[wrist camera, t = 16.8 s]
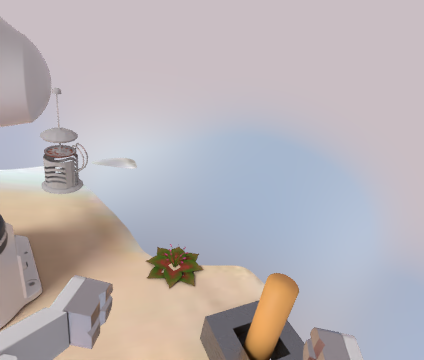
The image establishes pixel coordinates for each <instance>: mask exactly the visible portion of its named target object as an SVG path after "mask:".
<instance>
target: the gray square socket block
mask: <svg viewBox="0 0 424 360" xmlns="http://www.w3.org/2000/svg"><path fill="white" fill-rule="evenodd" d="M258 303H259V301H256V302H252V303H249V304H246V305H243V306H239V307H236V308H233V309H229V310H226V311H223V312H220V313H216V314H213V315H210V316H206V317H205V320H204V324H203V328H202V333H201V337H200V339H201V341H202V344H203V346H204V348H205V351H206V353H207V355H208V357H209V360H250V359H249V358H248V356H247V354H246V352H245V350H244V349H243V347H242V345H241V344H243V343H245V340H246V337H247V334H248V331H249V329H250V326H251V323H252V320H253V317H254V315H255V312H256V309H257V306H258ZM304 345H305V344H304V342H303V341H302V340H301V338H300V337H299V336H298V334H297V333H296V332H295V330H294V329H293V328H292V326H291V325H290V323H289V322H288V321H286V323H285V325H284V328H283V330H282V332H281V335H280V337H279V339H278V341H277V344H276V346H275V348H274V351H273V353H272V355H271V357H270V358H271V360H303V350H304Z"/></svg>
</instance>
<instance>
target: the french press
mask: <svg viewBox="0 0 424 360" xmlns="http://www.w3.org/2000/svg"><path fill="white" fill-rule="evenodd" d="M52 93H54V94H56V99H57V94H61V90H60V89H59V88H54V89H52ZM57 114H58V99H57ZM40 137H41V138H42V139H43V140H45V141H48V142H53V143H59V144H60V143H66V142H71V141H74V140H75V139H77V137H78V136H77V134H76V133H75V132H73V131H71V130H68V129H65V128H59V116H58V128H52V129H49V130H46V131H44V132H43V133H41V135H40ZM77 144H78V145H80V144H79V143H77ZM77 144H76V146H75V145H73V146H74V147H76V148H77V149H78V150H79V148H78V147H77ZM73 146H72V147H70V146H66V145H65V146H64V145H61V144H60V145H57V146H56V145H55V146H50V147H47V148H46V149H45V150H44V152H45V155H44V157H43V159H44V166H45V167H44V170H45V181H44V182H43V183H42V188H43V189H44V190H45V191H47V192H50V193H55V194H65V193H71V192H75V191H77V190H78V189H80V188H81V187H82V186H83V182H82V181H81V180H80V179H79V177H78V172H79V171H80V170H82V169H83V168H85V167H86V165H87V162H88V156H87V162H86V165H85V166H84V157H83V154H82V153H81V151H80V150H79V151H80V153H81V154H82V157H83V166H84V167H83V166H82V168H80V169H78V155H77V154H76V148H73ZM80 146H81V147H82V148H83V146H82V145H80ZM83 149H84V148H83ZM84 151H85V149H84ZM85 153H86V155H87V152H86V151H85ZM72 155H74V156H75V157H76V159H74V158H71V157H70V158H66V159H63V160H54V158H63V157H69V156H72ZM67 160H73V161H70V162H64V161H67ZM74 161H75V162H76V163H74ZM59 162H64V163H59ZM74 165H75V166H76V168H75V167H74ZM55 167H62V168H61V169H55ZM75 170H76V171H75ZM78 170H79V171H78ZM55 171H58V172H62V173H55Z"/></svg>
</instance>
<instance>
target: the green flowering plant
mask: <svg viewBox="0 0 424 360" xmlns="http://www.w3.org/2000/svg"><path fill="white" fill-rule="evenodd" d="M198 255H199V254H192V253H185V252H184V251H183V250H182V249H180V247H178V248H176V249H175V248H174V249H172V250H167V249H163V248H158V250H157V256H155V257H153V258H151V259H150V260H147V261H146V262H149V263H151V264H154V265H155V267H154V268H153V269H152V270H151V272H150V274H149V276H148V278H165V279H166V281H167V284H168V285H169V289H170V288H171V286H172V285H174V283H176V282H177V281H178V280H180V281H182V282H185V283H187V284H192V285H193V286H195V285H194V275H193V273H192V271H198V270H203V269H202V268H201V267H200V266H199V265H198V264H197V263H196V262H195V261H196V260H197V256H198ZM171 263H172V265H173V267H174V266H175V267H176V266H177V265H178V264H179V265H180V267H181V268H179V269H177V270H175V271H173V270H172V269H171V268H170V267H169V266H168V265H169V264H171ZM173 263H174V264H173ZM177 263H178V264H177ZM176 264H177V265H176ZM163 269H165V270H164V273H161V272H162V270H163ZM182 272H184V276H182Z"/></svg>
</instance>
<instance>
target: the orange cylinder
mask: <svg viewBox="0 0 424 360" xmlns="http://www.w3.org/2000/svg"><path fill="white" fill-rule="evenodd" d="M298 293H299V288H298V286H297V284H296V283H295V281H293V279H291V278H290V277H288V276H286V275H284V274H280V273H274V274H271V275H270V276H269V277H268V278H267V281H266V284H265V286H264V289H263V292H262V295H261V298H260V300H259V303H258V306H257V309H256V312H255V315H254V317H253V320H252V323H251V326H250V329H249V331H248V334H247V337H246V340H245V343H244V346H243V349H244V350H245V352H246V354H247V356H248V358H249V359H250V360H270V357H271V355H272V353H273V351H274V348H275V346H276V344H277V341H278V339H279V337H280V335H281V332H282V330H283V328H284V325H285V323H286V321H287V318H288V316H289V314H290V312H291V309H292V307H293V305H294V302H295V300H296V298H297V295H298Z"/></svg>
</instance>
